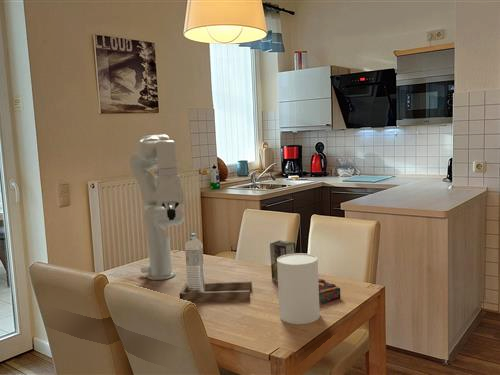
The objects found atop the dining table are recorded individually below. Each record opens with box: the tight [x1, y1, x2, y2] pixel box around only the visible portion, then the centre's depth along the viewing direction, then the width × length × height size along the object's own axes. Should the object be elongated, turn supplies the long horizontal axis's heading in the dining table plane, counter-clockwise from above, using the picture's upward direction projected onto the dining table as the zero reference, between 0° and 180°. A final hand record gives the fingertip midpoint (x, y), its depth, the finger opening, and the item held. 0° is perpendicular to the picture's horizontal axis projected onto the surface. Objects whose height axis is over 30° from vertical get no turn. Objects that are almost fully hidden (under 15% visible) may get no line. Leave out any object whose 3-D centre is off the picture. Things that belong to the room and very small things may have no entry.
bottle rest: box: [179, 280, 253, 303], centre depth 192 cm, size 27×12×4 cm, turn 86°
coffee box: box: [269, 240, 297, 283], centre depth 205 cm, size 9×6×16 cm
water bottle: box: [184, 232, 206, 292], centre depth 191 cm, size 7×7×25 cm
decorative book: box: [318, 278, 341, 306], centre depth 185 cm, size 11×16×5 cm
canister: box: [277, 252, 321, 325], centre depth 167 cm, size 14×14×20 cm
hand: (171, 219), depth 193 cm, fingers closed
